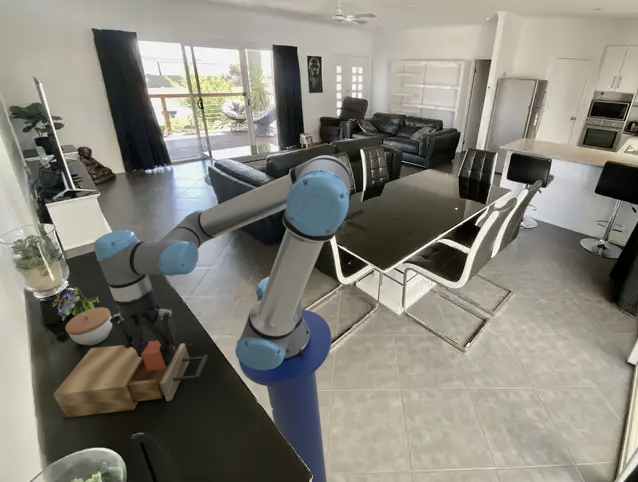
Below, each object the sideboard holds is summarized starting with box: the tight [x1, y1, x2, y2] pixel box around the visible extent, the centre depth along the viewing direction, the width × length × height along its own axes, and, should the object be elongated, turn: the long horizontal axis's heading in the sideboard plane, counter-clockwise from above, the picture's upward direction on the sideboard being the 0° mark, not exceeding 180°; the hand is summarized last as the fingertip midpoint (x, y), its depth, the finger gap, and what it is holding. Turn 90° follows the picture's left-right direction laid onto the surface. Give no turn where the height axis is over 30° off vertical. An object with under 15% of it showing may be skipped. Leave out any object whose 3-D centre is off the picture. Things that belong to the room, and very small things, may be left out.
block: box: [141, 340, 166, 371], centre depth 84 cm, size 4×4×6 cm
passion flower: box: [51, 287, 100, 322], centre depth 112 cm, size 11×11×12 cm
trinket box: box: [65, 306, 113, 346], centre depth 101 cm, size 11×11×9 cm
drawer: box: [127, 342, 209, 402], centre depth 87 cm, size 21×12×7 cm, turn 97°
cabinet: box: [52, 344, 142, 418], centre depth 85 cm, size 16×14×9 cm
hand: (159, 362), depth 86 cm, fingers closed on block, 4 cm apart
